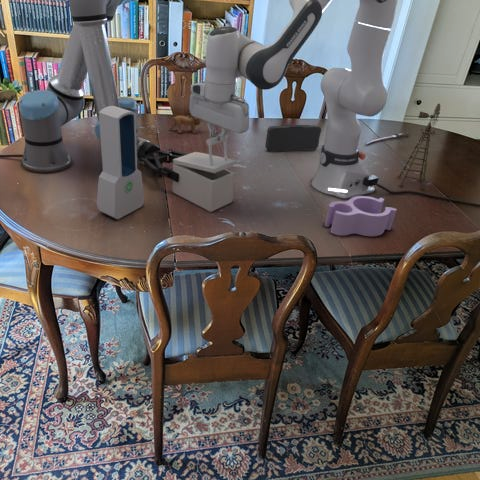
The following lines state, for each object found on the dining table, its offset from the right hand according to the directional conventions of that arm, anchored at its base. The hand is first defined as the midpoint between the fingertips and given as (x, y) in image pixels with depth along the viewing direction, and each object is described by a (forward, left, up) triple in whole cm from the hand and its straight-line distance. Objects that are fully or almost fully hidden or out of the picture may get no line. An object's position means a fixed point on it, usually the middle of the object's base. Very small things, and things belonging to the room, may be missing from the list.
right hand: (217, 138), depth 136 cm
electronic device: (+28, -1, -21) cm, 35 cm away
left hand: (+5, -9, -15) cm, 18 cm away
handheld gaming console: (-45, -38, -21) cm, 62 cm away
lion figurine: (-7, -62, -21) cm, 66 cm away
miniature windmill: (-77, -1, -21) cm, 80 cm away
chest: (+2, -4, -21) cm, 22 cm away
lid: (+2, -4, -9) cm, 11 cm away
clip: (-39, +22, -21) cm, 50 cm away
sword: (-96, -43, -21) cm, 107 cm away
